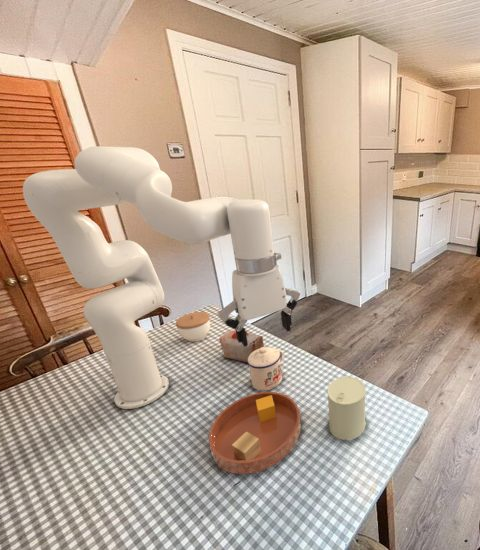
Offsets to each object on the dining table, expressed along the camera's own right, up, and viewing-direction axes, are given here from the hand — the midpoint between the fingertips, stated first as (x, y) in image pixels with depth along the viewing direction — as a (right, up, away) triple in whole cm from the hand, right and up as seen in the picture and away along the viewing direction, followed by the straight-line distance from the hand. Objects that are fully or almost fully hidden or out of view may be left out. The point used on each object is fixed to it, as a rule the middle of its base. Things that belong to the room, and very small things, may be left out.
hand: (266, 335), depth 67 cm
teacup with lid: (-7, -18, +25) cm, 31 cm away
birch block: (-4, -27, +1) cm, 27 cm away
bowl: (-4, -25, +6) cm, 26 cm away
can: (+18, -25, +9) cm, 32 cm away
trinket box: (-41, -10, +45) cm, 62 cm away
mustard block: (-4, -23, +11) cm, 26 cm away
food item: (-19, -14, +35) cm, 42 cm away
